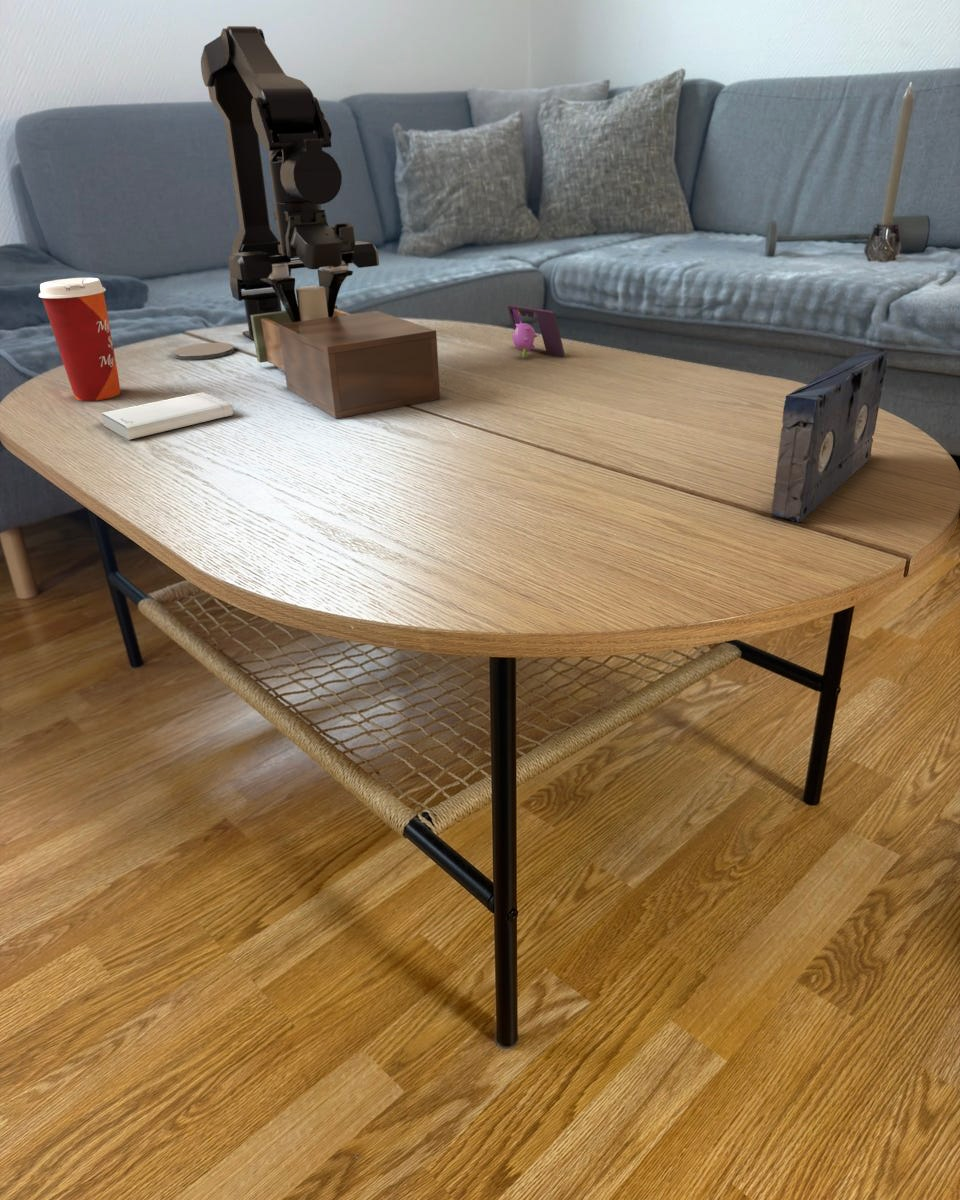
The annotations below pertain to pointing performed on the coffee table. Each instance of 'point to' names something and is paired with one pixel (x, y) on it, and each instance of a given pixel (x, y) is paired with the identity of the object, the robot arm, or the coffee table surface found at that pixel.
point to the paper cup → (83, 336)
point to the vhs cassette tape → (827, 433)
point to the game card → (526, 333)
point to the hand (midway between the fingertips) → (313, 328)
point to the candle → (312, 302)
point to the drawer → (273, 335)
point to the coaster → (203, 351)
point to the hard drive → (166, 415)
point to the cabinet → (360, 362)
